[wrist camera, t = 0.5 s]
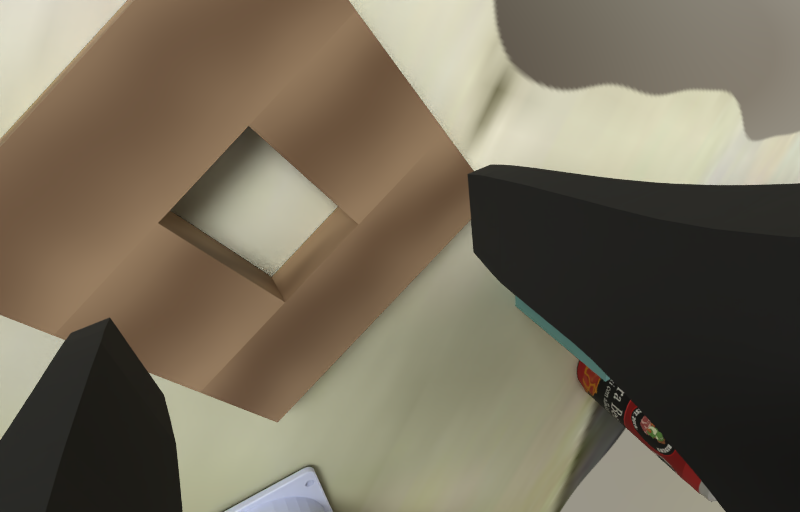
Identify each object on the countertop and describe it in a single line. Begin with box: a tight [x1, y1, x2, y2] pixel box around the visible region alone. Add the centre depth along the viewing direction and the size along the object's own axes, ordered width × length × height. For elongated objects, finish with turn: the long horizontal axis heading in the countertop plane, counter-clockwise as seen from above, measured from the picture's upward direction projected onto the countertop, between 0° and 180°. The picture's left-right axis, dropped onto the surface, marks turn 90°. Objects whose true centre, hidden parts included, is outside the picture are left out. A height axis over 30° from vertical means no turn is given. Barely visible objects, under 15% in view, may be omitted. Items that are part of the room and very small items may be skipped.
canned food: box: [577, 361, 717, 502], centre depth 34 cm, size 8×8×11 cm
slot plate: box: [0, 0, 474, 422], centre depth 18 cm, size 14×14×2 cm
